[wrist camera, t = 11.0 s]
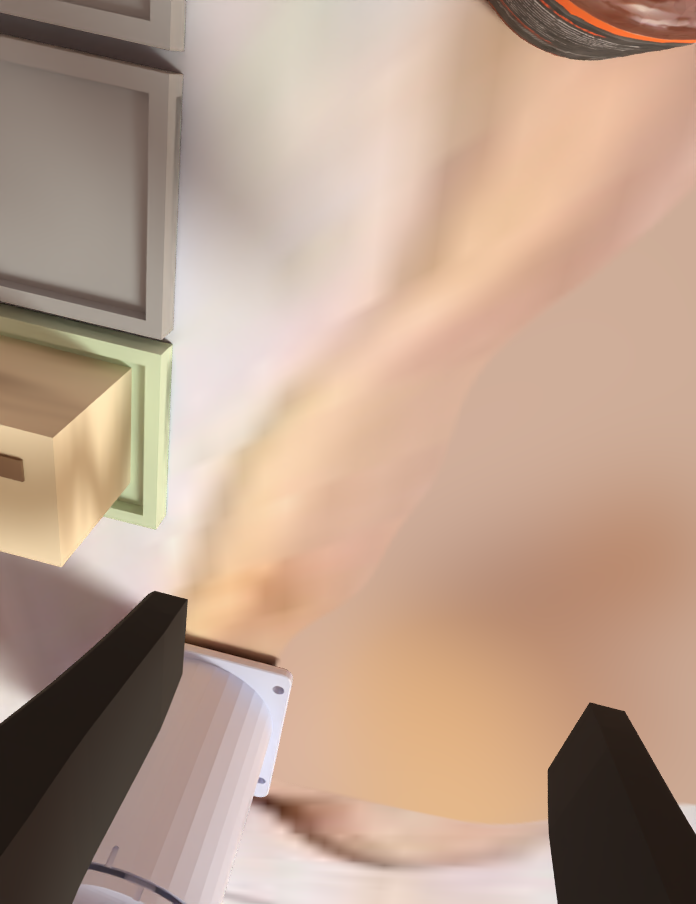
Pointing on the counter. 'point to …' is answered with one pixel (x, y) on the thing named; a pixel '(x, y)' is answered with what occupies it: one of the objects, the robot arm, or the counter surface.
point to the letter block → (59, 447)
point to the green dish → (148, 399)
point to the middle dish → (88, 186)
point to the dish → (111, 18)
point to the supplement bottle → (600, 25)
